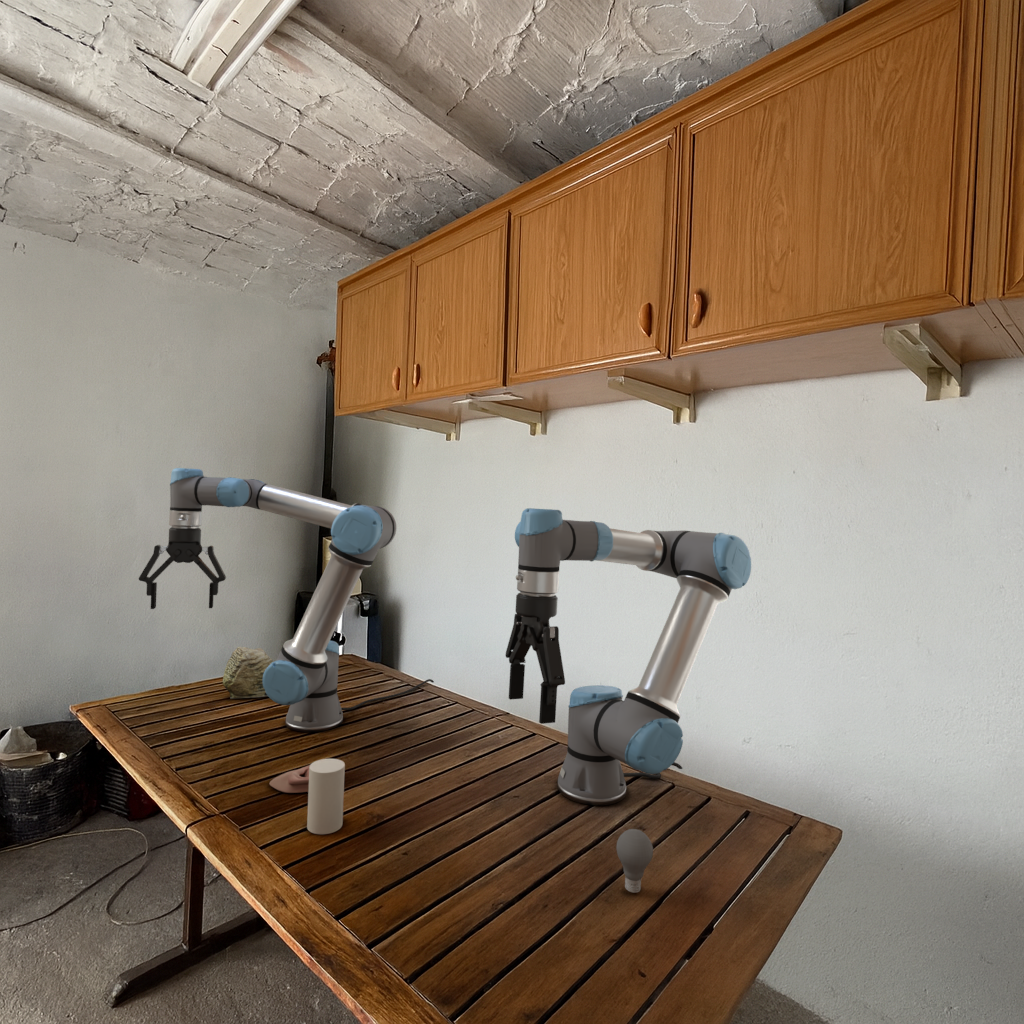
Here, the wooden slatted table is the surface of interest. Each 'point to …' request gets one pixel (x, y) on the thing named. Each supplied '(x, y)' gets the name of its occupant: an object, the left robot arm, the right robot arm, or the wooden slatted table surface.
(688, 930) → the wooden slatted table surface
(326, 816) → the canister
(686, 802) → the wooden slatted table surface
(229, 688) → the fossil
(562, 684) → the right robot arm
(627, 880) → the light bulb
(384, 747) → the wooden slatted table surface
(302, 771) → the anatomical model
